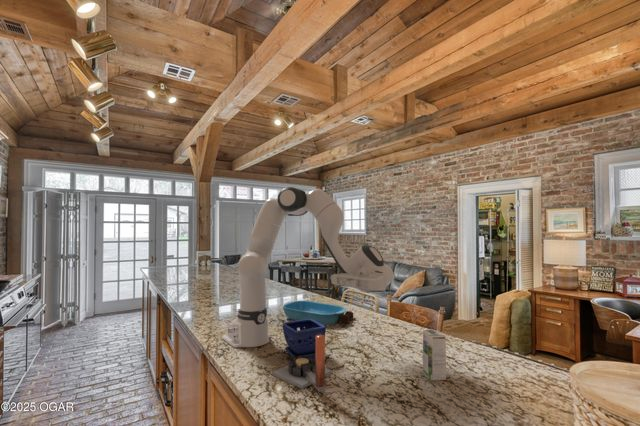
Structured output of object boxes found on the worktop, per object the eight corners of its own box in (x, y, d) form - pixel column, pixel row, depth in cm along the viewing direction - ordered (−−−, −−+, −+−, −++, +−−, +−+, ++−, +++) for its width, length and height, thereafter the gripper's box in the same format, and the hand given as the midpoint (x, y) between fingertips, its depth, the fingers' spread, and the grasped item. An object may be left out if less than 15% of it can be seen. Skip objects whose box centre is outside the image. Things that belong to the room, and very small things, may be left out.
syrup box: (422, 373, 108) (421, 329, 108) (439, 372, 108) (438, 329, 109) (429, 381, 102) (428, 335, 103) (447, 380, 102) (446, 334, 103)
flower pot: (294, 365, 114) (294, 331, 114) (281, 352, 125) (281, 322, 126) (326, 358, 120) (326, 326, 120) (311, 347, 131) (311, 317, 132)
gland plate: (272, 375, 106) (272, 361, 106) (301, 362, 116) (301, 349, 116) (302, 389, 96) (302, 373, 97) (331, 373, 107) (331, 359, 107)
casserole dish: (353, 319, 173) (353, 306, 174) (333, 330, 154) (333, 315, 155) (298, 310, 192) (298, 298, 193) (274, 319, 173) (274, 305, 174)
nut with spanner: (285, 367, 109) (286, 320, 109) (309, 363, 112) (309, 317, 113) (307, 396, 90) (308, 339, 90) (335, 390, 93) (335, 335, 94)
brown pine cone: (352, 320, 177) (345, 327, 162) (344, 315, 178) (337, 321, 164) (357, 312, 176) (351, 318, 162) (349, 306, 178) (342, 312, 164)
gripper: (343, 268, 126) (321, 272, 116) (389, 273, 113) (368, 277, 103) (343, 284, 126) (321, 289, 116) (390, 291, 113) (369, 297, 102)
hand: (344, 283), depth 109 cm, fingers closed
